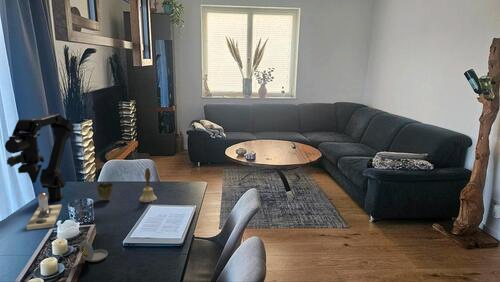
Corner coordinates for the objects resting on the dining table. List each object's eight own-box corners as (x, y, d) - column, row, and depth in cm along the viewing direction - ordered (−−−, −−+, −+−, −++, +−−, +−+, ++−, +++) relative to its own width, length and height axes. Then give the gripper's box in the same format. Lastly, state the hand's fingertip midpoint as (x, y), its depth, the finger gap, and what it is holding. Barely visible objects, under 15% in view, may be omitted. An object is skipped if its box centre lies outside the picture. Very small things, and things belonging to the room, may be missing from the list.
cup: (96, 203, 156) (95, 187, 155) (98, 197, 163) (97, 182, 162) (113, 202, 158) (112, 186, 157) (114, 196, 165) (114, 181, 164)
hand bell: (158, 195, 168) (157, 165, 165) (155, 202, 160) (154, 170, 157) (141, 196, 167) (140, 165, 164) (137, 202, 159) (136, 170, 156)
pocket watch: (110, 252, 116) (108, 225, 114) (100, 266, 108) (98, 238, 105) (87, 252, 115) (84, 225, 113) (75, 266, 107) (72, 237, 105)
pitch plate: (38, 209, 148) (38, 203, 147) (61, 207, 151) (61, 201, 150) (26, 229, 130) (26, 222, 129) (53, 226, 133) (52, 219, 132)
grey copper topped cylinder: (40, 213, 140) (37, 191, 138) (51, 212, 142) (48, 191, 139) (38, 217, 136) (35, 195, 134) (49, 216, 138) (46, 194, 136)
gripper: (14, 144, 147) (17, 177, 150) (0, 154, 130) (5, 191, 133) (42, 143, 151) (46, 175, 154) (33, 152, 134) (37, 188, 137)
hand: (33, 182), depth 145 cm, fingers closed
